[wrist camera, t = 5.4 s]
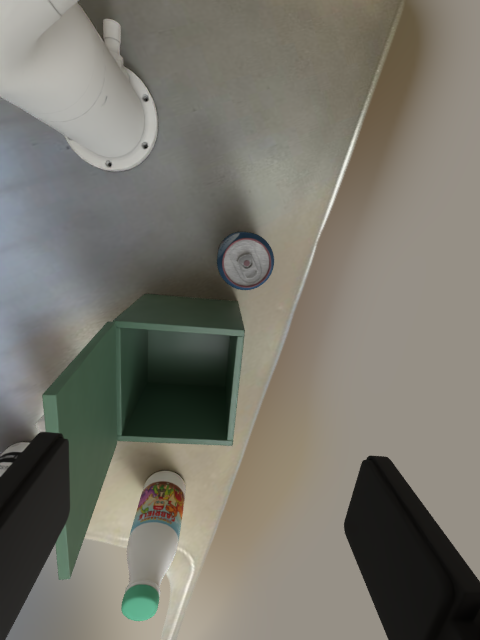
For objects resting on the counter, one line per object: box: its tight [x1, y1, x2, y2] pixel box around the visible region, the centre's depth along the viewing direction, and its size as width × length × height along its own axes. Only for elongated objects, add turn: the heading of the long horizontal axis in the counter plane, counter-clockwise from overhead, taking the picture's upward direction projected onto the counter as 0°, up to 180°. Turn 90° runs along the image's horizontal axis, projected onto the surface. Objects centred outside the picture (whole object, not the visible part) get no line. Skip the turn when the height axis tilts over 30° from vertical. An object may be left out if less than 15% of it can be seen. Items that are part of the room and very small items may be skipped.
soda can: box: [217, 232, 274, 290], centre depth 42 cm, size 7×7×12 cm
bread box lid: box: [42, 322, 117, 580], centre depth 28 cm, size 15×16×1 cm
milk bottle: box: [122, 471, 186, 621], centre depth 49 cm, size 8×8×20 cm
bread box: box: [113, 294, 245, 446], centre depth 44 cm, size 15×16×15 cm
